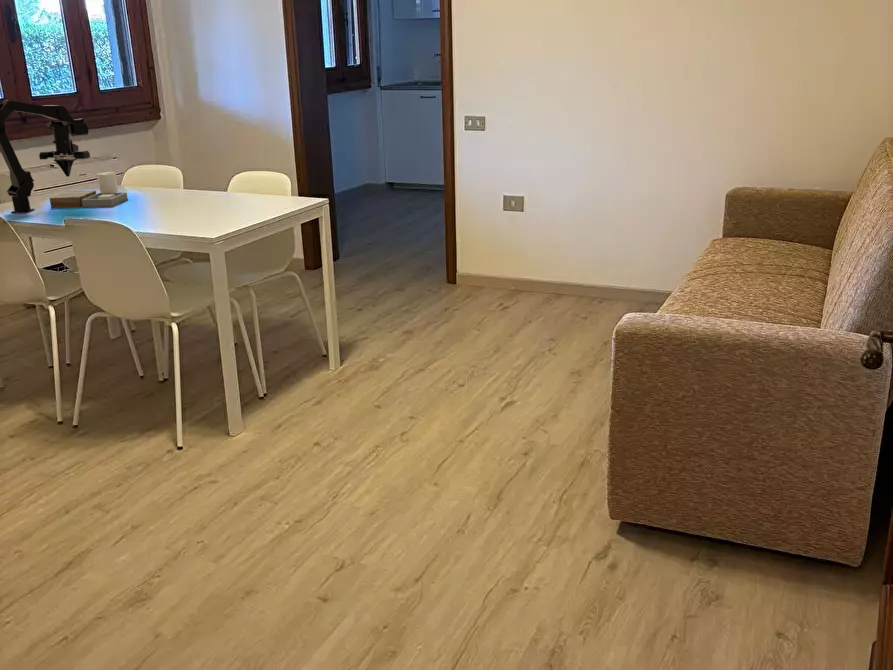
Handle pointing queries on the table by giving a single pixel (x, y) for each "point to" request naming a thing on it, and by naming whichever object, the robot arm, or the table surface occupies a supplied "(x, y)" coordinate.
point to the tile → (106, 196)
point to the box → (104, 200)
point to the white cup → (107, 182)
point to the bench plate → (70, 199)
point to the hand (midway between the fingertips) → (68, 176)
